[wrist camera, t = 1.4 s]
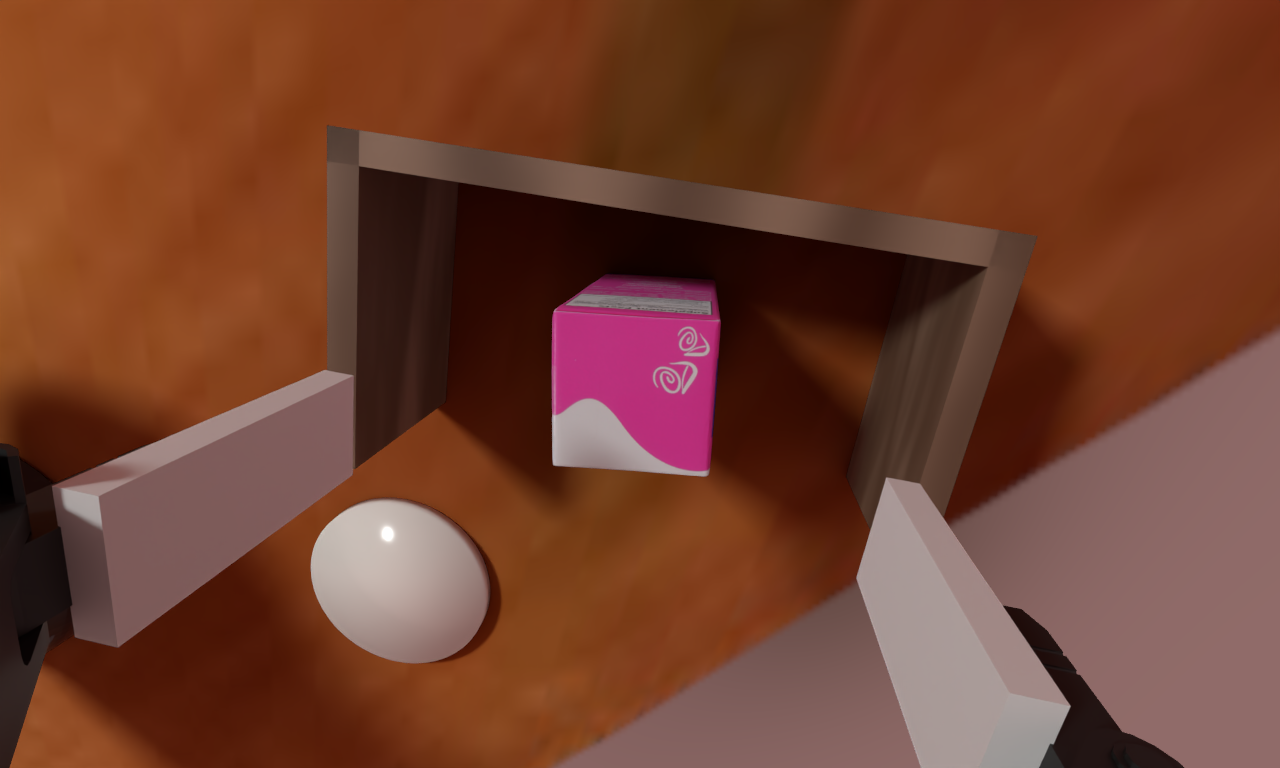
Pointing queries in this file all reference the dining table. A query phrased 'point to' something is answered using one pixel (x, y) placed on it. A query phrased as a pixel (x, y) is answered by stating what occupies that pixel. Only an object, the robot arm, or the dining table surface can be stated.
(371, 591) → the pebble
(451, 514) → the dining table surface
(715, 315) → the supplement box
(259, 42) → the dining table surface
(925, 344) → the cubby
